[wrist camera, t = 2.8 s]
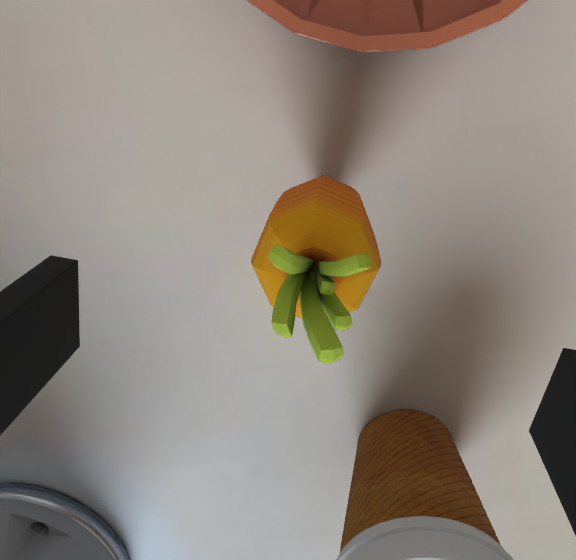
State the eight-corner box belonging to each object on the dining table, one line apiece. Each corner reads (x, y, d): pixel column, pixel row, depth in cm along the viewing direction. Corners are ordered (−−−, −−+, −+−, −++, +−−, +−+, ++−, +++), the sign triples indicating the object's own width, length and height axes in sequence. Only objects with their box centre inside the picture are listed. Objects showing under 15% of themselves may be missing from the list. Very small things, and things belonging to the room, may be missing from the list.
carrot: (280, 148, 29) (219, 241, 16) (373, 149, 29) (396, 247, 15) (281, 235, 31) (228, 387, 18) (368, 238, 31) (384, 396, 17)
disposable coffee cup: (508, 428, 35) (581, 605, 24) (428, 521, 39) (459, 711, 28) (377, 364, 34) (390, 518, 23) (308, 466, 38) (291, 639, 27)
